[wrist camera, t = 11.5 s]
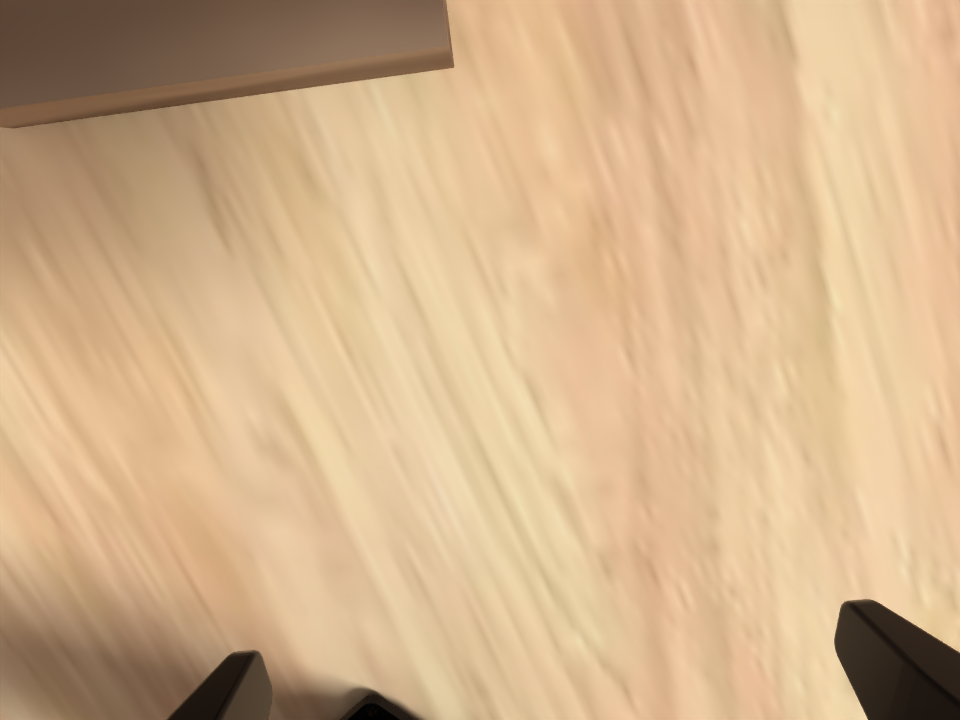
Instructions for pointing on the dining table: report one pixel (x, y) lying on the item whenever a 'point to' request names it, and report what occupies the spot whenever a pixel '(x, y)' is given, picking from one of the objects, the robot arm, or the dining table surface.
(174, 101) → the holder box
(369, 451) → the dining table surface
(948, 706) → the robot arm
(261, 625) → the dining table surface
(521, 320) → the dining table surface
